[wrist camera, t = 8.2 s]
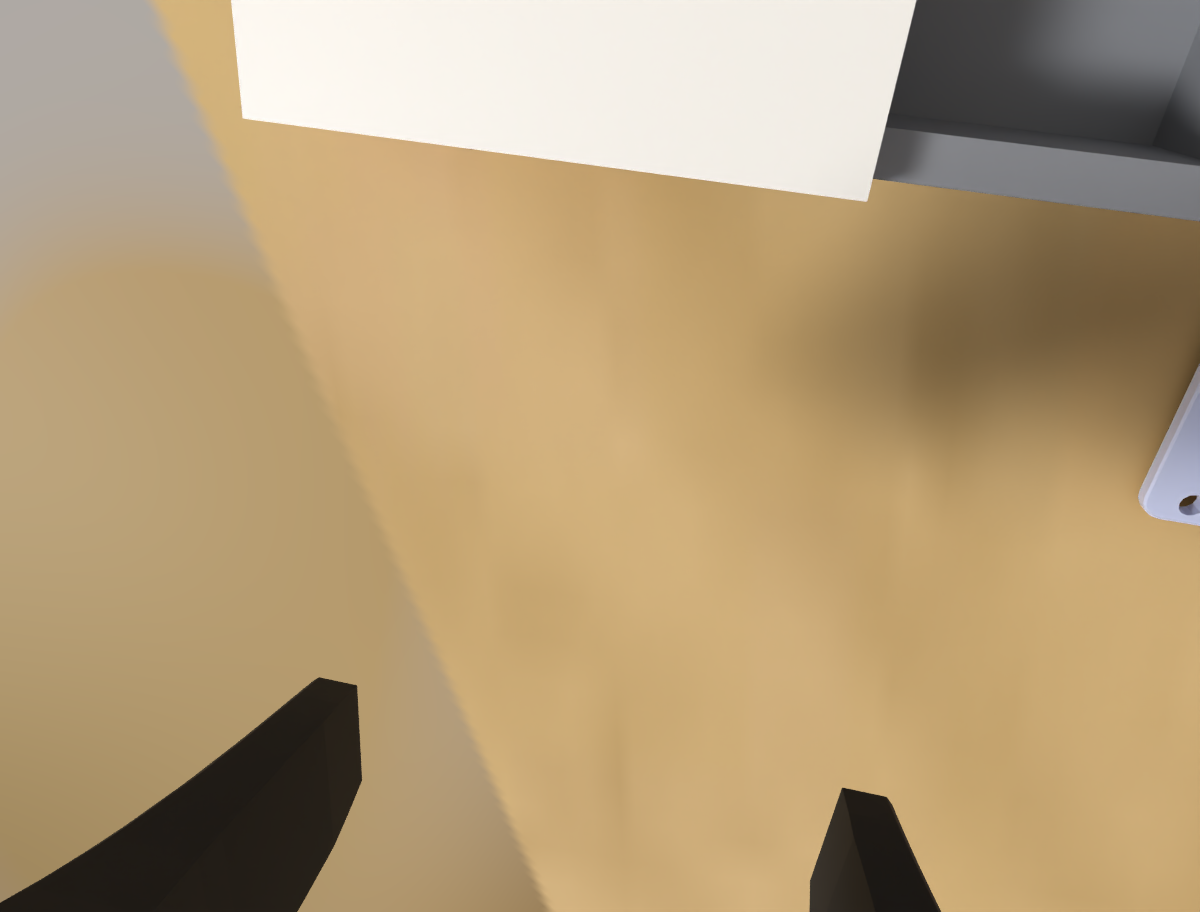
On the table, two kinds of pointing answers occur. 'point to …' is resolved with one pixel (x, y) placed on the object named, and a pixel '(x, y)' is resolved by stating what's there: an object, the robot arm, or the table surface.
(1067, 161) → the carton
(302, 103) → the carton lid
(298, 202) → the table surface
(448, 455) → the table surface
